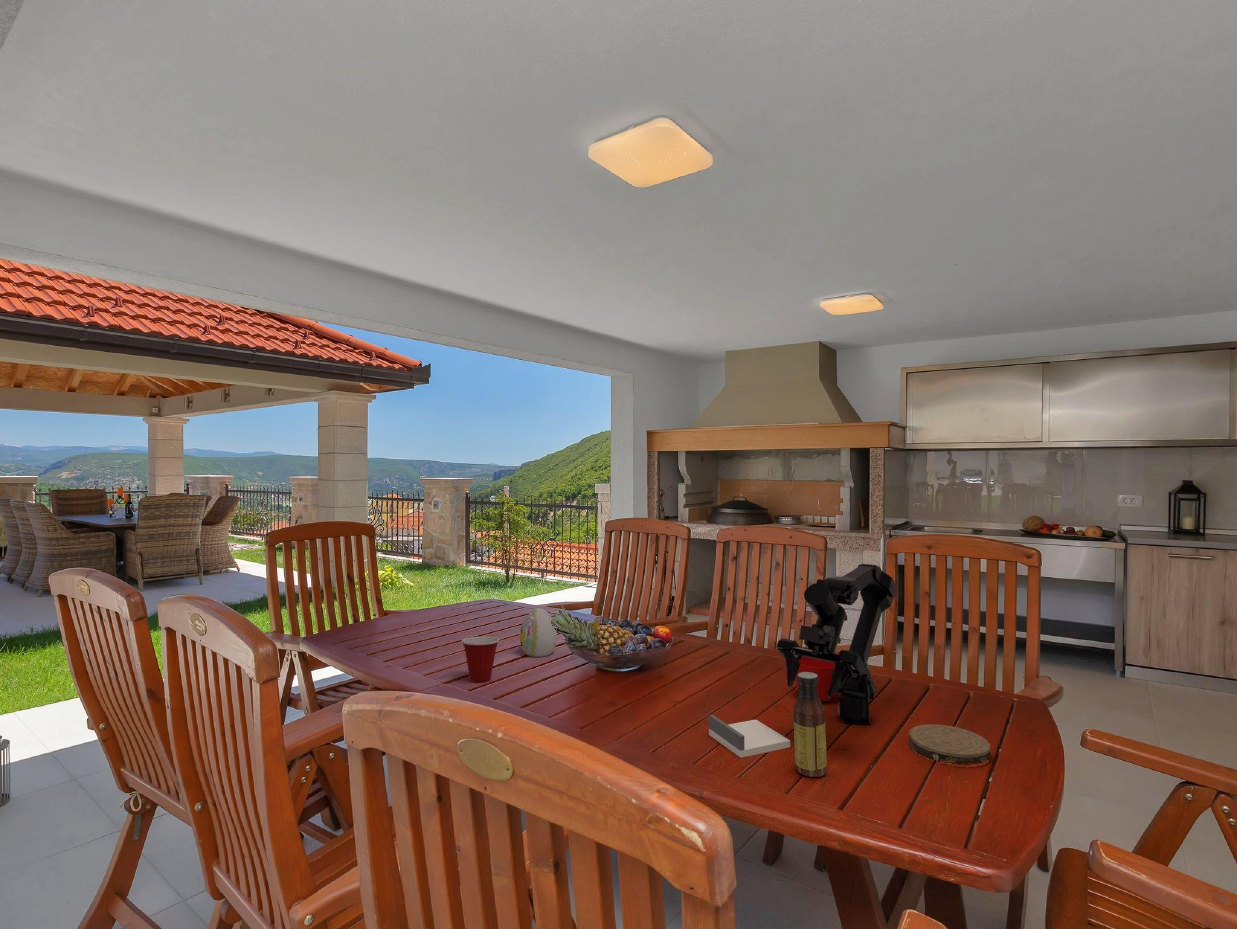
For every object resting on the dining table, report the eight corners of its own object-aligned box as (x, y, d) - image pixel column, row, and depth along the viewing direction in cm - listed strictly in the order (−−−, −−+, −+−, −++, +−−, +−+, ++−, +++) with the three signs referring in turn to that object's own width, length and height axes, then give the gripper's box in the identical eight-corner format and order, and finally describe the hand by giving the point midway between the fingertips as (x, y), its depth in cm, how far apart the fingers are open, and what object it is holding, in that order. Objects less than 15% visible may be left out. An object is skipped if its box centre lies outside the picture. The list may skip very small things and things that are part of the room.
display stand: (755, 725, 156) (755, 706, 156) (790, 747, 144) (790, 727, 144) (708, 734, 151) (708, 715, 151) (740, 757, 139) (740, 736, 139)
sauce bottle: (820, 764, 136) (820, 669, 136) (831, 778, 130) (831, 679, 130) (789, 764, 136) (789, 669, 136) (798, 779, 130) (798, 679, 130)
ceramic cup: (862, 709, 167) (862, 670, 167) (794, 704, 170) (794, 666, 170) (854, 691, 179) (854, 655, 179) (791, 687, 183) (791, 652, 183)
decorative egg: (517, 650, 220) (517, 605, 220) (552, 647, 224) (552, 603, 224) (523, 660, 209) (523, 613, 209) (560, 657, 212) (560, 611, 212)
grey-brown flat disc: (919, 731, 154) (919, 718, 154) (997, 750, 144) (997, 736, 144) (899, 754, 141) (899, 741, 141) (982, 776, 131) (982, 762, 131)
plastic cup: (504, 674, 195) (504, 634, 195) (493, 686, 185) (493, 644, 185) (468, 673, 196) (468, 633, 196) (456, 685, 186) (456, 643, 186)
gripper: (777, 603, 150) (755, 665, 143) (857, 616, 138) (838, 684, 131) (795, 627, 157) (774, 688, 149) (873, 641, 144) (855, 708, 137)
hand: (808, 691), depth 141 cm, fingers open, 9 cm apart
